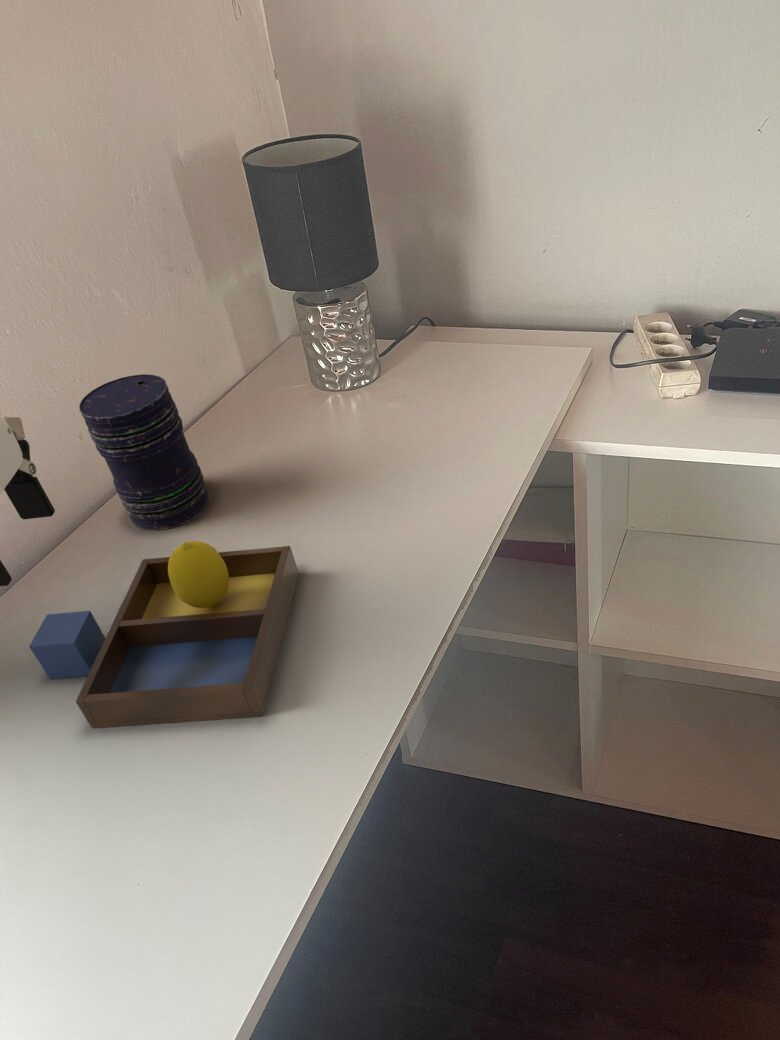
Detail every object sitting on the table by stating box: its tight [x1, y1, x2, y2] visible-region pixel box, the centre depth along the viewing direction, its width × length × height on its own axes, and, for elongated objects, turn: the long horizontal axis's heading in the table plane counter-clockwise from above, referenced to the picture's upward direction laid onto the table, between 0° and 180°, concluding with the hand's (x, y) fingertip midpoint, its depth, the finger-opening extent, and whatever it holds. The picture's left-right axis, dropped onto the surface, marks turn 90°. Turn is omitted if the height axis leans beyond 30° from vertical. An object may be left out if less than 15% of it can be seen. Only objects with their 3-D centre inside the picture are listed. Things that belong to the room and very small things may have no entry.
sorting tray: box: [75, 545, 300, 729], centre depth 84 cm, size 16×20×4 cm
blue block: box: [29, 610, 106, 680], centre depth 84 cm, size 4×4×4 cm
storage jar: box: [78, 373, 210, 532], centre depth 100 cm, size 10×10×15 cm
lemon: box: [168, 540, 229, 608], centre depth 85 cm, size 6×6×8 cm
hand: (17, 548), depth 76 cm, fingers open, 9 cm apart
